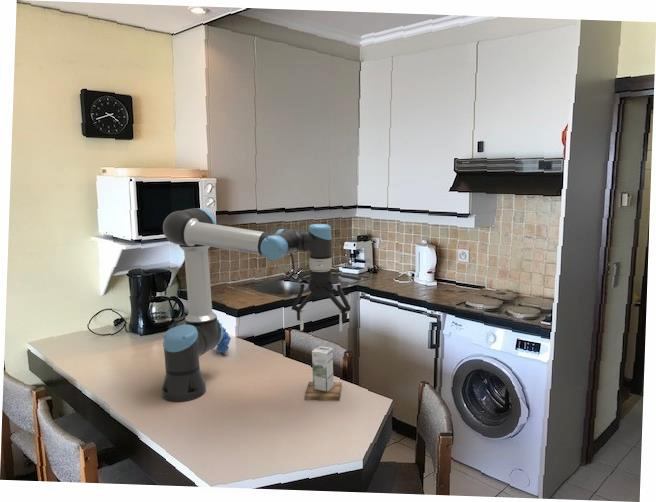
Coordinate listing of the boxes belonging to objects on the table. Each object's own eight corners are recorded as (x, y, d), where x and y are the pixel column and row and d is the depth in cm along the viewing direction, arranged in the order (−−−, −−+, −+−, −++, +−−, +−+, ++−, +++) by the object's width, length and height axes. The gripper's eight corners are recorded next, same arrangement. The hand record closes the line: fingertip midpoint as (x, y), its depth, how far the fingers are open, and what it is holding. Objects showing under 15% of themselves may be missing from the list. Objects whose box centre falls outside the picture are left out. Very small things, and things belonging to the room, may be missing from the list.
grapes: (237, 354, 224) (236, 327, 222) (223, 358, 220) (221, 331, 218) (225, 347, 233) (224, 321, 231) (211, 351, 229) (210, 324, 227)
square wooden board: (304, 400, 179) (304, 395, 179) (309, 385, 191) (308, 381, 191) (339, 400, 178) (339, 396, 178) (341, 386, 190) (341, 381, 190)
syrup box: (334, 386, 186) (333, 347, 184) (327, 392, 181) (326, 352, 178) (319, 383, 188) (318, 345, 186) (312, 390, 183) (311, 350, 180)
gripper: (282, 271, 175) (283, 332, 178) (357, 272, 172) (356, 334, 176) (286, 267, 182) (287, 325, 186) (357, 267, 180) (357, 327, 183)
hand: (321, 329), depth 181 cm, fingers open, 13 cm apart
